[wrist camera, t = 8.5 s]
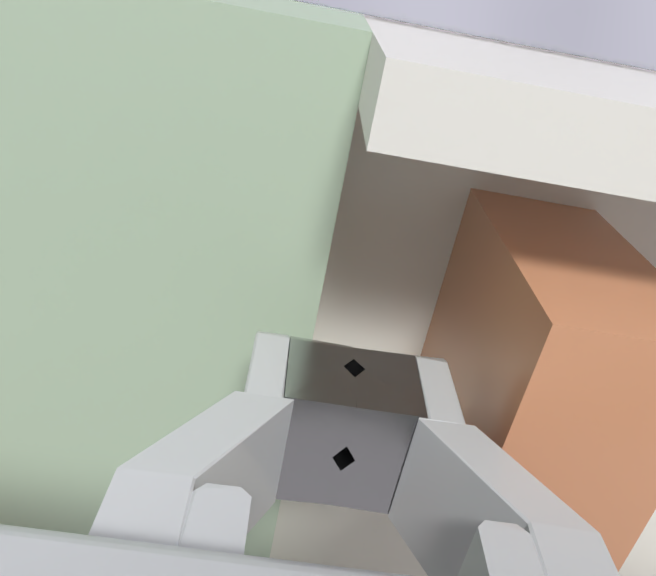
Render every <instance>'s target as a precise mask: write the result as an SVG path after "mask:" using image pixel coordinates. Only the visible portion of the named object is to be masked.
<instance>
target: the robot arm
mask: <svg viewBox="0 0 656 576" xmlns="http://www.w3.org/2000/svg"><path fill="white" fill-rule="evenodd" d="M276 499H278V500H288V501H297V502H307V503H317V504H326V505H334V506H340V507H347V508H353V509H359V510H365V511H372V512H378V513H384V514H389V515H388V518H389V519H390V521H391V522H392V524H393V525H394V526H395V528H396V529H397V531H398V532H399V534H400V535H401V537H402V538H403V540H404V541H405V543H406V544H407V546H408V547H409V549H410V550H411V552H412V553H413V555H414V556H415V558H416V559H417V560H418V562H419V563H420V565H421V566H422V568H423V569H424V571H425V572H426V574H427V575H428V576H620V575H619V573H618V571H617V568H616V566H615V564H614V562H613V560H612V558H611V555H610V553H609V551H608V549H607V547H606V545H605V543H604V540H603V538H602V536H601V534H600V533H599V532H598V531H597V530H596V529H595V528H593V527H592V526H591V525H590V524H589V523H588V522H586V521H585V520H584V519H583V518H582V517H581V516H579V515H578V514H577V513H576V512H575V511H574V510H572V509H571V508H570V507H569V506H568V505H567V504H565V503H564V502H563V501H562V500H561V499H560V498H558V497H557V496H556V495H555V494H554V493H553V492H552V491H550V490H549V489H548V488H547V487H546V486H545V485H543V484H542V483H541V482H540V481H539V480H538V479H536V478H535V477H534V476H533V475H532V474H531V473H529V472H528V471H527V470H526V469H525V468H524V467H522V466H521V465H520V464H519V463H518V462H517V461H515V460H514V459H513V458H512V457H511V456H510V455H509V454H507V453H506V452H505V451H504V450H503V449H502V448H500V447H499V446H498V445H497V444H496V443H495V442H493V441H492V440H491V439H490V438H489V437H488V436H486V435H485V434H484V433H483V432H482V431H481V430H479V429H478V428H477V427H476V426H474V425H467V424H466V423H465V420H464V416H463V413H462V410H461V406H460V403H459V400H458V396H457V393H456V389H455V386H454V383H453V379H452V376H451V373H450V369H449V366H448V363H447V361H446V360H444V359H443V358H434V357H425V356H417V355H407V354H400V353H392V352H384V351H376V350H368V349H360V348H353V347H352V346H346V345H341V344H335V343H329V342H323V341H317V340H312V339H306V338H300V337H294V336H290V338H289V336H288V335H284V334H277V333H270V332H263V331H258V332H257V333H256V336H255V341H254V346H253V351H252V356H251V361H250V366H249V371H248V375H247V380H246V385H245V390H244V392H240V391H234V392H232V393H231V394H229V395H228V396H226V397H225V398H223V399H222V400H220V401H218V402H217V403H215V404H214V405H212V406H211V407H209V408H208V409H206V410H205V411H203V412H202V413H200V414H199V415H197V416H195V417H194V418H192V419H191V420H189V421H188V422H186V423H185V424H183V425H182V426H180V427H179V428H177V429H176V430H174V431H172V432H171V433H169V434H168V435H166V436H165V437H163V438H162V439H160V440H159V441H157V442H156V443H154V444H153V445H151V446H149V447H148V448H146V449H145V450H143V451H142V452H140V453H139V454H137V455H136V456H134V457H133V458H131V459H130V460H128V461H126V462H125V463H123V464H122V465H120V466H119V467H117V469H116V471H115V473H114V476H113V478H112V480H111V483H110V485H109V487H108V490H107V492H106V494H105V497H104V499H103V501H102V504H101V506H100V508H99V511H98V513H97V515H96V518H95V520H94V522H93V525H92V527H91V529H90V532H89V534H88V535H84V534H76V533H68V532H60V531H52V530H44V529H36V528H28V527H20V526H12V525H4V524H0V576H411V575H403V574H395V573H387V572H379V571H371V570H363V569H355V568H346V567H338V566H330V565H322V564H314V563H306V562H298V561H291V560H283V559H275V558H267V557H259V556H251V555H244V550H245V543H246V535H247V534H248V532H249V531H250V530H251V529H252V528H253V527H254V526H255V524H256V523H257V522H258V521H259V520H260V519H261V518H262V517H263V515H264V514H265V513H266V512H267V511H268V510H269V509H270V507H271V506H272V505H273V504H274V503H275V500H276Z"/></svg>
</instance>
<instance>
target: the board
mask: <svg viewBox="0 0 656 576" xmlns="http://www.w3.org/2000/svg"><path fill="white" fill-rule="evenodd" d="M372 33H373V32H372V30H371V28H370V26H369V24H368V22H367V21H366V19H365V17H364V15H363V14H360V13H355V12H350V11H345V10H340V9H334V8H329V7H324V6H319V5H314V4H309V3H304V2H298V1H293V0H0V524H4V525H12V526H20V527H28V528H36V529H44V530H52V531H60V532H68V533H76V534H84V535H88V534H89V532H90V529H91V527H92V525H93V522H94V520H95V518H96V515H97V513H98V511H99V508H100V506H101V504H102V501H103V499H104V497H105V494H106V492H107V490H108V487H109V485H110V483H111V480H112V478H113V476H114V473H115V471H116V469H117V467H119V466H120V465H122V464H123V463H125V462H126V461H128V460H130V459H131V458H133V457H134V456H136V455H137V454H139V453H140V452H142V451H143V450H145V449H146V448H148V447H149V446H151V445H153V444H154V443H156V442H157V441H159V440H160V439H162V438H163V437H165V436H166V435H168V434H169V433H171V432H172V431H174V430H176V429H177V428H179V427H180V426H182V425H183V424H185V423H186V422H188V421H189V420H191V419H192V418H194V417H195V416H197V415H199V414H200V413H202V412H203V411H205V410H206V409H208V408H209V407H211V406H212V405H214V404H215V403H217V402H218V401H220V400H222V399H223V398H225V397H226V396H228V395H229V394H231V393H232V392H234V391H240V392H244V390H245V385H246V380H247V375H248V371H249V366H250V361H251V356H252V351H253V346H254V341H255V336H256V333H257V332H258V331H263V332H270V333H277V334H284V335H288V336H289V338H290V336H294V337H300V338H306V339H313V334H314V328H315V323H316V318H317V313H318V308H319V303H320V298H321V293H322V288H323V283H324V278H325V273H326V267H327V262H328V257H329V252H330V247H331V242H332V237H333V232H334V227H335V222H336V217H337V211H338V206H339V201H340V196H341V191H342V186H343V181H344V176H345V171H346V166H347V161H348V156H349V150H350V145H351V140H352V135H353V130H354V125H355V120H356V115H357V110H358V105H359V100H360V94H361V89H362V84H363V79H364V74H365V69H366V64H367V59H368V54H369V49H370V44H371V38H372ZM280 501H281V500H278V499H276V500H275V503H274V504H273V505H272V506H271V507H270V509H269V510H268V511H267V512H266V513H265V514H264V515H263V517H262V518H261V519H260V520H259V521H258V522H257V523H256V524H255V526H254V527H253V528H252V529H251V530H250V531H249V532H248V534H247V535H246V543H245V550H244V555H251V556H259V557H267V558H269V557H270V552H271V547H272V542H273V537H274V532H275V527H276V522H277V517H278V512H279V507H280Z"/></svg>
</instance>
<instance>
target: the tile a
mask: <svg viewBox="0 0 656 576" xmlns="http://www.w3.org/2000/svg"><path fill="white" fill-rule="evenodd" d="M420 356H425V357H434V358H443V359H444V360H446V361H447V363H448V366H449V369H450V373H451V376H452V379H453V383H454V386H455V389H456V393H457V396H458V400H459V403H460V406H461V410H462V413H463V416H464V420H465V423H466V424H467V425H474V426H476V427H477V428H478V429H479V430H481V431H482V432H483V433H484V434H485V435H486V436H488V437H489V438H490V439H491V440H492V441H493V442H495V443H496V444H497V445H498V446H499V447H500V448H502V449H503V450H504V451H505V452H506V453H507V454H509V455H510V456H511V457H512V458H513V459H514V460H515V461H517V462H518V463H519V464H520V465H521V466H522V467H524V468H525V469H526V470H527V471H528V472H529V473H531V474H532V475H533V476H534V477H535V478H536V479H538V480H539V481H540V482H541V483H542V484H543V485H545V486H546V487H547V488H548V489H549V490H550V491H552V492H553V493H554V494H555V495H556V496H557V497H558V498H560V499H561V500H562V501H563V502H564V503H565V504H567V505H568V506H569V507H570V508H571V509H572V510H574V511H575V512H576V513H577V514H578V515H579V516H581V517H582V518H583V519H584V520H585V521H586V522H588V523H589V524H590V525H591V526H592V527H593V528H595V529H596V530H597V531H598V532H599V533H600V534H601V536H602V538H603V540H604V543H605V545H606V547H607V549H608V551H609V553H610V555H611V558H612V560H613V562H614V564H615V566H616V568H617V571H618V572H619V570H620V569H621V567H622V565H623V564H624V562H625V560H626V558H627V557H628V555H629V553H630V552H631V550H632V548H633V547H634V545H635V543H636V542H637V540H638V538H639V537H640V535H641V533H642V532H643V530H644V528H645V526H646V525H647V523H648V521H649V520H650V518H651V516H652V515H653V513H654V511H655V510H656V268H655V267H654V266H653V265H652V264H651V263H650V262H649V261H648V260H647V259H646V258H645V257H644V256H643V255H642V254H640V253H639V252H638V251H637V250H636V249H635V248H634V247H633V246H632V245H631V244H630V243H629V242H628V241H627V240H626V239H625V238H624V237H623V236H622V235H621V234H620V233H619V232H618V231H617V230H616V229H615V228H614V227H612V226H611V225H610V224H609V223H608V222H607V221H606V220H605V219H604V218H603V217H602V216H601V215H600V214H599V213H598V212H597V211H596V210H591V209H586V208H580V207H574V206H569V205H563V204H558V203H552V202H546V201H541V200H535V199H530V198H524V197H519V196H513V195H507V194H502V193H496V192H491V191H485V190H480V189H474V188H471V189H470V193H469V196H468V199H467V203H466V206H465V209H464V213H463V216H462V219H461V222H460V226H459V229H458V232H457V236H456V239H455V242H454V246H453V249H452V252H451V256H450V259H449V262H448V266H447V269H446V272H445V276H444V279H443V282H442V286H441V289H440V292H439V296H438V299H437V302H436V305H435V309H434V312H433V315H432V319H431V322H430V325H429V329H428V332H427V335H426V339H425V342H424V345H423V349H422V352H421V355H420Z"/></svg>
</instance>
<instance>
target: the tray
mask: <svg viewBox="0 0 656 576" xmlns="http://www.w3.org/2000/svg"><path fill="white" fill-rule="evenodd" d="M363 15H364V17H365V19H366V21H367V22H368V24H369V26H370V28H371V30H372V32H373V33H372V38H371V44H370V49H369V54H368V59H367V64H366V69H365V74H364V79H363V84H362V89H361V94H360V100H359V105H358V110H357V115H356V120H355V125H354V130H353V135H352V140H351V145H350V150H349V156H348V161H347V166H346V171H345V176H344V181H343V186H342V191H341V196H340V201H339V206H338V211H337V217H336V222H335V227H334V232H333V237H332V242H331V247H330V252H329V257H328V262H327V267H326V273H325V278H324V283H323V288H322V293H321V298H320V303H319V308H318V313H317V318H316V323H315V328H314V334H313V339H312V340H317V341H323V342H329V343H335V344H341V345H346V346H352V347H353V348H360V349H368V350H376V351H384V352H392V353H400V354H407V355H417V356H420V355H421V352H422V349H423V345H424V342H425V339H426V335H427V332H428V329H429V325H430V322H431V319H432V315H433V312H434V309H435V305H436V302H437V299H438V296H439V292H440V289H441V286H442V282H443V279H444V276H445V272H446V269H447V266H448V262H449V259H450V256H451V252H452V249H453V246H454V242H455V239H456V236H457V232H458V229H459V226H460V222H461V219H462V216H463V213H464V209H465V206H466V203H467V199H468V196H469V193H470V189H471V188H474V189H480V190H485V191H491V192H496V193H502V194H507V195H513V196H519V197H524V198H530V199H535V200H541V201H546V202H552V203H558V204H563V205H569V206H574V207H580V208H586V209H591V210H596V211H597V212H598V213H599V214H600V215H601V216H602V217H603V218H604V219H605V220H606V221H607V222H608V223H609V224H610V225H611V226H612V227H614V228H615V229H616V230H617V231H618V232H619V233H620V234H621V235H622V236H623V237H624V238H625V239H626V240H627V241H628V242H629V243H630V244H631V245H632V246H633V247H634V248H635V249H636V250H637V251H638V252H639V253H640V254H642V255H643V256H644V257H645V258H646V259H647V260H648V261H649V262H650V263H651V264H652V265H653V266H654V267H655V268H656V71H653V70H648V69H643V68H638V67H632V66H627V65H622V64H617V63H612V62H607V61H602V60H596V59H591V58H586V57H581V56H576V55H571V54H566V53H560V52H555V51H550V50H545V49H540V48H535V47H530V46H524V45H519V44H514V43H509V42H504V41H499V40H494V39H489V38H483V37H478V36H473V35H468V34H463V33H458V32H453V31H447V30H442V29H437V28H432V27H427V26H422V25H417V24H411V23H406V22H401V21H396V20H391V19H386V18H381V17H375V16H370V15H365V14H363ZM388 515H389V514H384V513H378V512H372V511H365V510H359V509H353V508H347V507H340V506H334V505H326V504H317V503H307V502H297V501H288V500H281V501H280V507H279V512H278V517H277V522H276V527H275V532H274V537H273V542H272V547H271V552H270V557H269V558H275V559H283V560H291V561H298V562H306V563H314V564H322V565H330V566H338V567H346V568H355V569H363V570H371V571H379V572H387V573H395V574H403V575H411V576H428V575H427V574H426V572H425V571H424V569H423V568H422V566H421V565H420V563H419V562H418V560H417V559H416V558H415V556H414V555H413V553H412V552H411V550H410V549H409V547H408V546H407V544H406V543H405V541H404V540H403V538H402V537H401V535H400V534H399V532H398V531H397V529H396V528H395V526H394V525H393V524H392V522H391V521H390V519H389V518H388ZM618 573H619V575H620V576H656V510H655V511H654V513H653V515H652V516H651V518H650V520H649V521H648V523H647V525H646V526H645V528H644V530H643V532H642V533H641V535H640V537H639V538H638V540H637V542H636V543H635V545H634V547H633V548H632V550H631V552H630V553H629V555H628V557H627V558H626V560H625V562H624V564H623V565H622V567H621V569H620V570H619V572H618Z"/></svg>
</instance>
